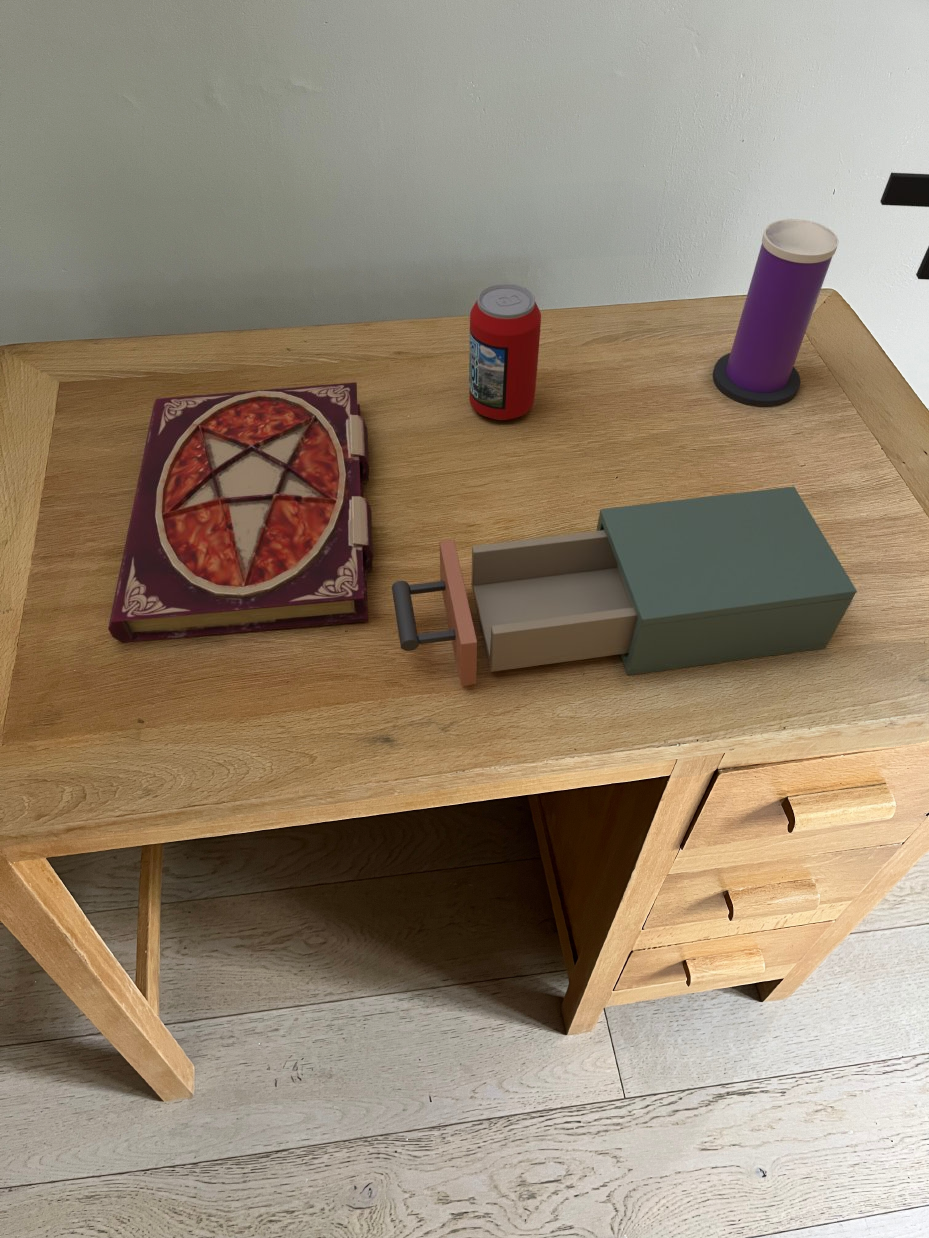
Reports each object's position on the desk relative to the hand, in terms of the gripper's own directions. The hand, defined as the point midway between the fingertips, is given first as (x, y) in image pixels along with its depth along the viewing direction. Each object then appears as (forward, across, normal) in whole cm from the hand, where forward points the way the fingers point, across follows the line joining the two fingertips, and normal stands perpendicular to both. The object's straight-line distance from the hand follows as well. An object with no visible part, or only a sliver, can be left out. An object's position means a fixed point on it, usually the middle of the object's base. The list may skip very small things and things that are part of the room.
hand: (903, 223), depth 78 cm
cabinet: (+17, -32, -18) cm, 40 cm away
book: (+57, -24, -18) cm, 64 cm away
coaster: (+9, 0, -18) cm, 19 cm away
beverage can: (+35, -6, -18) cm, 40 cm away
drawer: (+33, -36, -17) cm, 51 cm away
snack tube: (+9, 0, -17) cm, 19 cm away
